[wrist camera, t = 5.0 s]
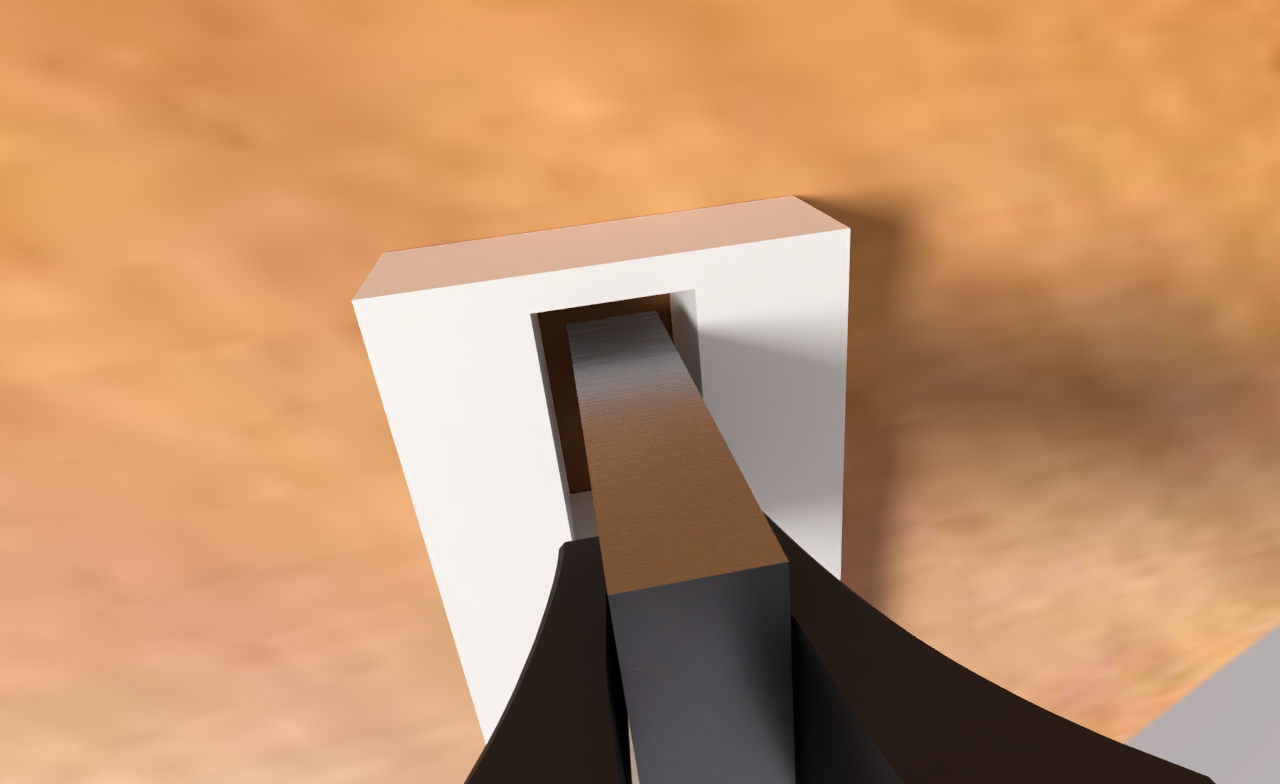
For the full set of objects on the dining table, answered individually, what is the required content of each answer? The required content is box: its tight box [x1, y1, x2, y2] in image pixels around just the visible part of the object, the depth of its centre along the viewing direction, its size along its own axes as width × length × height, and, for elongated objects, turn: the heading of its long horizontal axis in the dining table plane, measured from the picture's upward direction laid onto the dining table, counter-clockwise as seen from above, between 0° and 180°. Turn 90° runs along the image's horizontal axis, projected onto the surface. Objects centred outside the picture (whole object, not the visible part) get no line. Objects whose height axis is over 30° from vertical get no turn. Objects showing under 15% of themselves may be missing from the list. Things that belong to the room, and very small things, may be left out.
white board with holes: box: [352, 196, 850, 784], centre depth 20 cm, size 18×10×4 cm, turn 6°
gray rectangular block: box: [567, 310, 796, 784], centre depth 13 cm, size 5×2×9 cm, turn 6°
